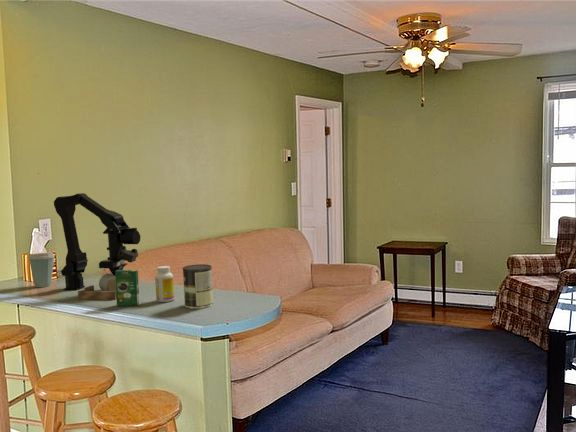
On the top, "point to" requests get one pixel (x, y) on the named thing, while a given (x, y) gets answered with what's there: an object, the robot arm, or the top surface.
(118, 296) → the coffee box
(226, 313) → the top surface
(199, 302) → the coffee can
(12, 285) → the top surface
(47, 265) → the disposable coffee cup
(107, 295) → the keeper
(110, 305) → the top surface
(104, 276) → the ceramic mug
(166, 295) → the supplement bottle
